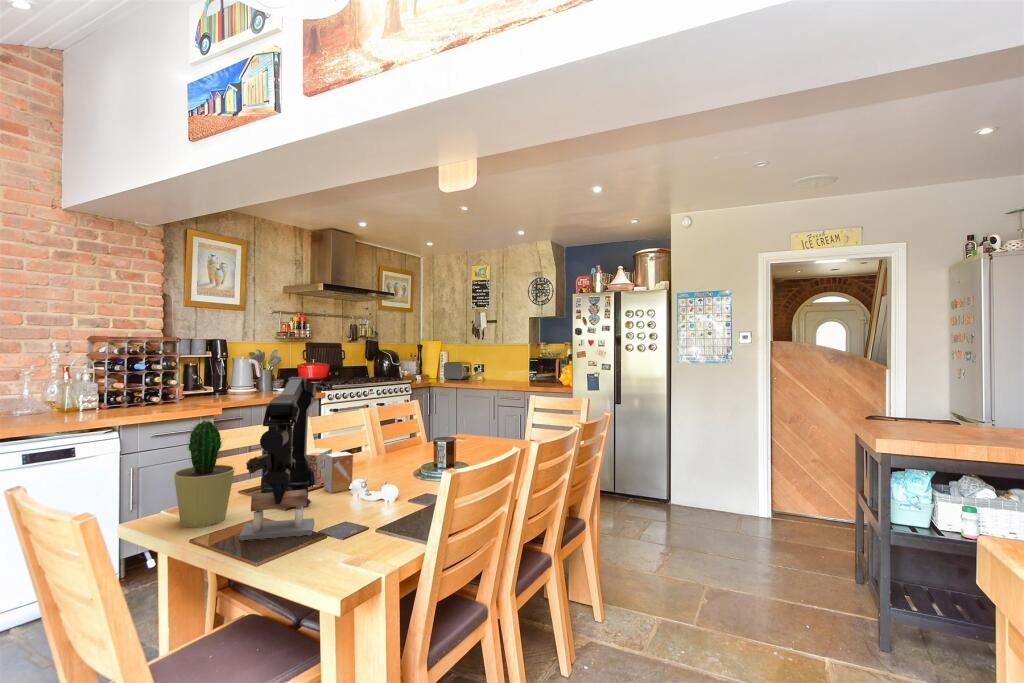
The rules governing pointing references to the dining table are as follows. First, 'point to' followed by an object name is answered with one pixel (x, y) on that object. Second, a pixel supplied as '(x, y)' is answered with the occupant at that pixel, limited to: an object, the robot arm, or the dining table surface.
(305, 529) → the grey base with posts
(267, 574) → the dining table surface
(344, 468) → the small box
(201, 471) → the potted cactus
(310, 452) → the patterned carton
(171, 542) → the dining table surface
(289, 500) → the shelf board
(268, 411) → the robot arm
